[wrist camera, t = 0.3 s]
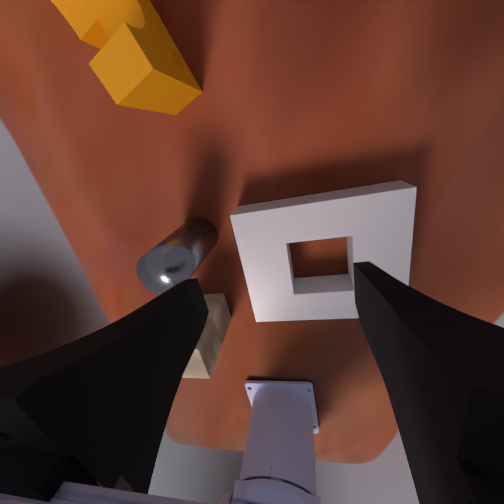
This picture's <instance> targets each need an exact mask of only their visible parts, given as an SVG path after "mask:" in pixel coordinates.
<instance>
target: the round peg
mask: <svg viewBox="0 0 504 504" xmlns="http://www.w3.org/2000/svg"><path fill="white" fill-rule="evenodd" d="M216 242H217V232H216V229H215V227H214V226H213V225H212V224H211V223H210V222H209V221H207V220H205V219H203V218H192V219H190V220H189V221H187V222H186V223H185V224H183V225H182V226H181V227H180V228H178V229H177V230H176V231H175V232H173V233H172V234H171V235H169V236H168V237H167V238H166V239H164V240H163V241H162V242H160V243H159V244H158V245H157V246H155V247H154V248H153V249H152V250H150V251H149V252H148V253H146V254H145V255H144V256H143V257H141V258H140V259H139V261H138V263H137V267H136V270H137V275H138V278H139V280H140V281H141V283H142V284H143V285H144V286H145V287H146V288H147V289H148V290H149V291H151V292H152V293H154V294H157V295H161V294H162V293H164V292H165V291H167V290H168V289H170V288H172V287H173V286H175V285H177V284H178V283H180V282H182V281H184V280H186V279H190V278H191V276H192V275H193V274H194V272H195V271H196V270H197V268H198V267H199V266H200V264H201V263H202V262H203V260H204V259H205V258H206V256H207V255H208V254H209V252H210V251H211V250H212V248H213V247H214V246H215V244H216Z"/></svg>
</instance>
